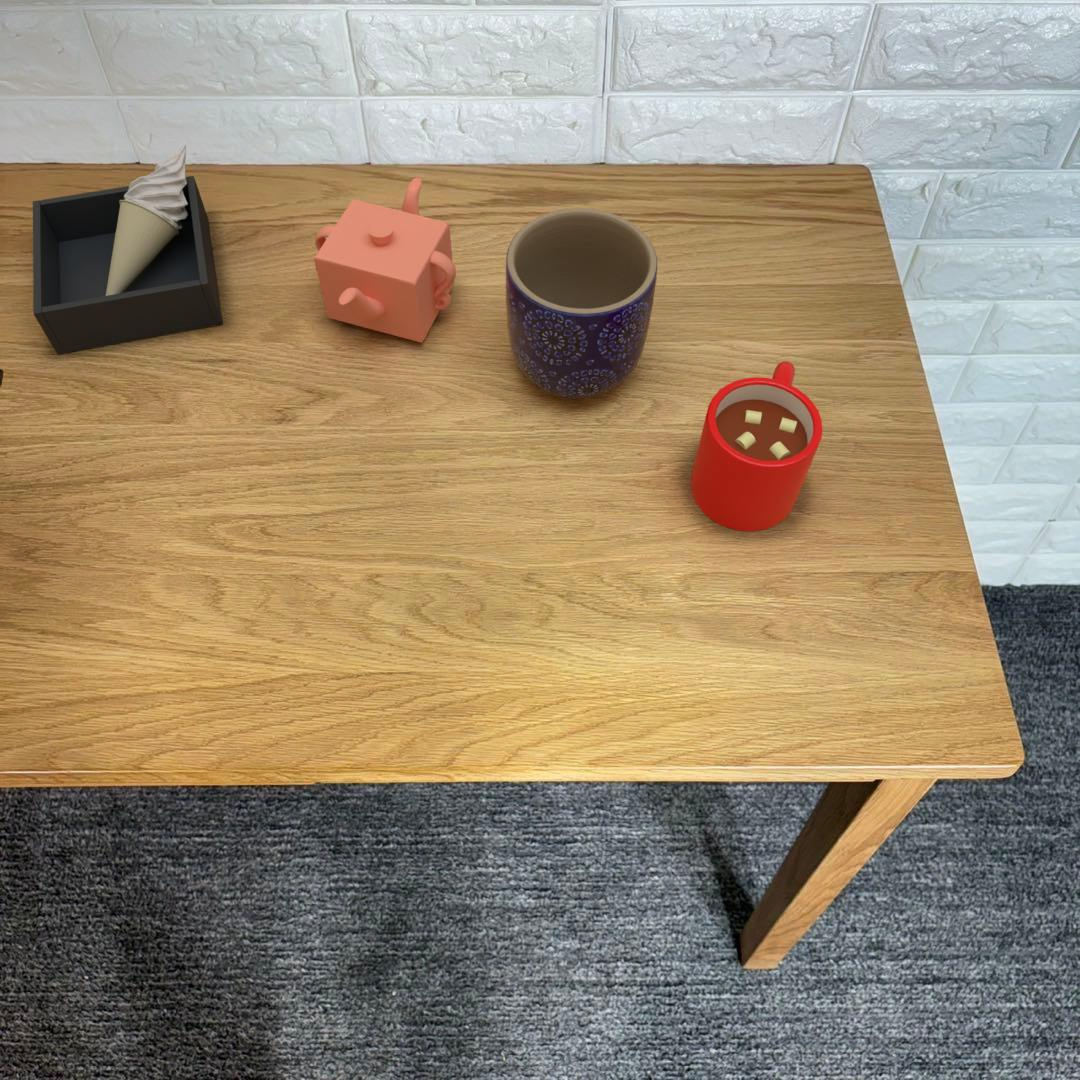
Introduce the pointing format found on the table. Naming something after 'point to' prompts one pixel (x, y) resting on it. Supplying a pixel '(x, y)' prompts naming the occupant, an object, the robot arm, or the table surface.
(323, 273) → the teapot
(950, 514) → the table surface
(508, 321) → the planter
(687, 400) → the table surface
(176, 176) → the ice cream cone
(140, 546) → the table surface
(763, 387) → the mug
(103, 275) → the storage bin
